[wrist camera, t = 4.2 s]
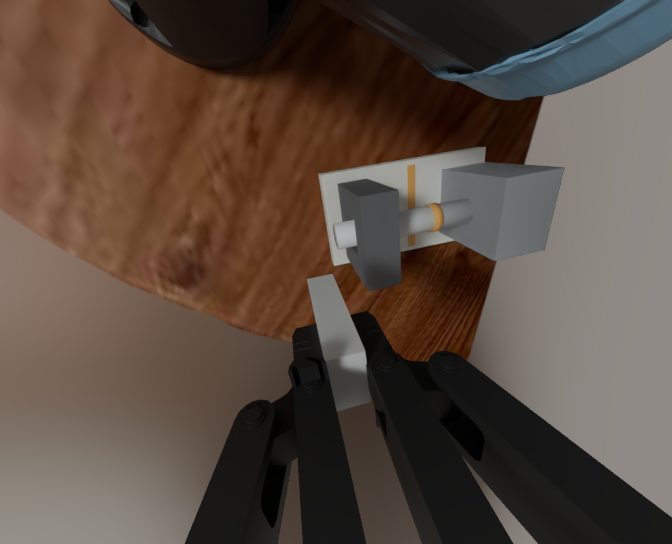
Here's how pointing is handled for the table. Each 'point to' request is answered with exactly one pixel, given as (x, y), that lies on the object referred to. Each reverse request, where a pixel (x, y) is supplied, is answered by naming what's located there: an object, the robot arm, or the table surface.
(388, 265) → the collar
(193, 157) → the table surface
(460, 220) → the rod stand
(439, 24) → the robot arm
